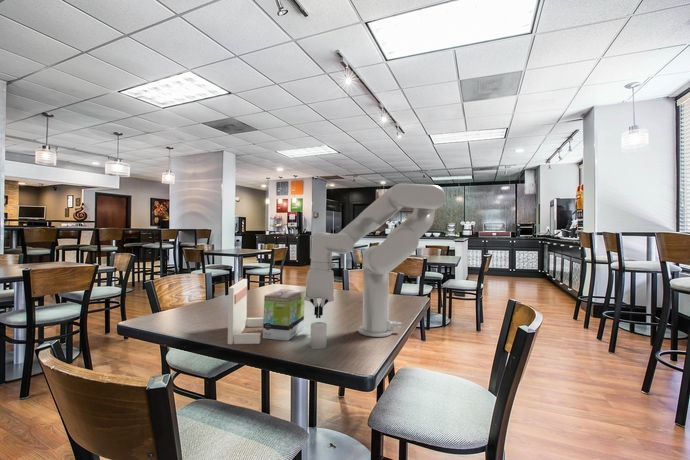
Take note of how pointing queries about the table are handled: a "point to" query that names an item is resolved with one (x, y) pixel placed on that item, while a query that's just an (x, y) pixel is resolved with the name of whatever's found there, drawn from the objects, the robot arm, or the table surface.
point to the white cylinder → (318, 335)
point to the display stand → (241, 316)
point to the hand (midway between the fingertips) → (318, 317)
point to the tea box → (283, 314)
